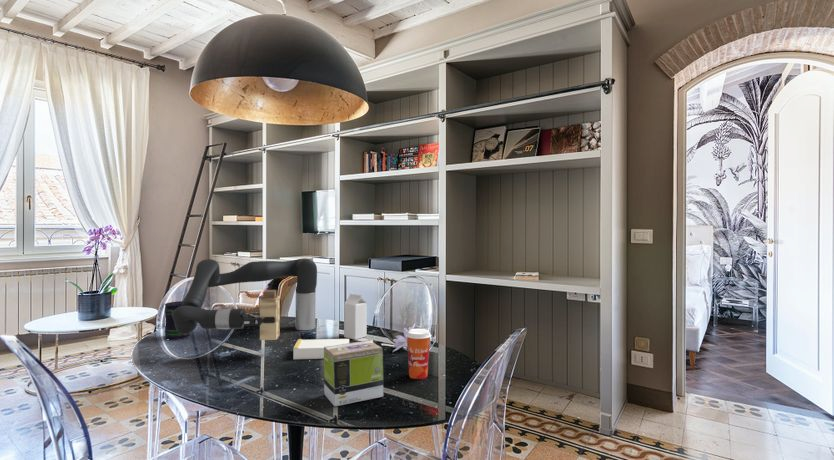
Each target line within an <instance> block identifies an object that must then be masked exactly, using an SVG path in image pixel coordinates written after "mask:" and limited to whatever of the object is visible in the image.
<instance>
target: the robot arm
mask: <svg viewBox="0 0 834 460" xmlns="http://www.w3.org/2000/svg"><path fill="white" fill-rule="evenodd" d="M195 268H196V269H195V274H194V277H193V279H192V282H191V285H190V287H189V288H188V289H189V290H188V291H187V293H186V294H185V296H184V299H183V302H182V305H181V306H180V307H178V308H176V309H175V310H174V311H173V314H172V316H173V320H174V324H175V328H176V330H177V332H179V333H180V334H188V333H190V334H191V333H192V332H193V331H194V330H195V329H196V328H197V326H198V324H199V326H200V327H201V328H202V329H204V330H243V329H244V327H250V326H251V327H253V326H254V327H255V326H259V325H261V324H264V323H274V322H275V317H260V312H259V311H251V312H249V313H246V310H245V309H244V308H222V309H205V308H202V307H203V305H204V303H205V300H206V297H207V292H208V288H215V287H221V286H226V285H232V284H240V283H241V284H242V283H254V282H255V283H257V282H259V283H260V282H267V281H268V282H269V281H271V280H276V279H280V278H284V277H285V278H286V277H296V286H295V330H297V331H310V330H311V331H312V330H314V329H315V328H316V291H317V290H316V288H317V283H318V267H317V264H316V263H315V261H314V260H312V259H309V258H298V259H292V260H286V261H285V260H283V261H278V260H262V261H261V260H259V261H249V262H248V263H245V264H243V265H242V266H240V267H238V268H237V269H235V270H233V271H229V272H224V273H220V272H221V271H220V264H219V262H218V261H216V260H215V259H210V258H209V259H208V258H207V259H203V260H201V261H199V262H198V263H197V265H196V267H195ZM255 322H256V323H255Z"/></svg>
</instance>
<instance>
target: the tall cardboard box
mask: <svg viewBox="0 0 834 460" xmlns="http://www.w3.org/2000/svg"><path fill="white" fill-rule="evenodd" d="M280 299H281V298H280V295H278V296H276V298H269V299H263V297H262V298H260V317H275V322H274V323H264V324H261V325H260V328H259V341H276V340H278V339H279V337H280V331H281V330H280V329H281V327H280V318H281V316H280Z"/></svg>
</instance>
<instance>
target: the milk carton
mask: <svg viewBox="0 0 834 460" xmlns="http://www.w3.org/2000/svg"><path fill="white" fill-rule="evenodd" d="M343 304H344V305H343V306H344V307H343V337H344V338H345V339H349V340H350V339H352V340H359V339H362V338H366V337H367V333H368V332H367V325H368V324H367V321H368V320H367V319H368V318H367V315H368V314H367V313H368V311H367V309H368V308H367V307H368V304H367V301H366V300H364V298H363V297H362V295H361V294H356V293H349V296H348V298H347V299H346V301H344V303H343Z"/></svg>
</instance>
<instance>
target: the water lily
mask: <svg viewBox="0 0 834 460" xmlns="http://www.w3.org/2000/svg"><path fill="white" fill-rule="evenodd" d="M415 326H416V322H415V323H413V325H412V326H409V327H408V329H407V328H406V327H404V328H403V331H402V332H403V335H395V338H396V339H395V340H392V341H393V342H395V343H394V344H393V346H392V348H395V349H393V350H392V353H394V352H396V351H398V350H400V349H401V348H402V347H403V346H405V345H407V336H406V334H407V333H408V331H409V330H411V329H415Z"/></svg>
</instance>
